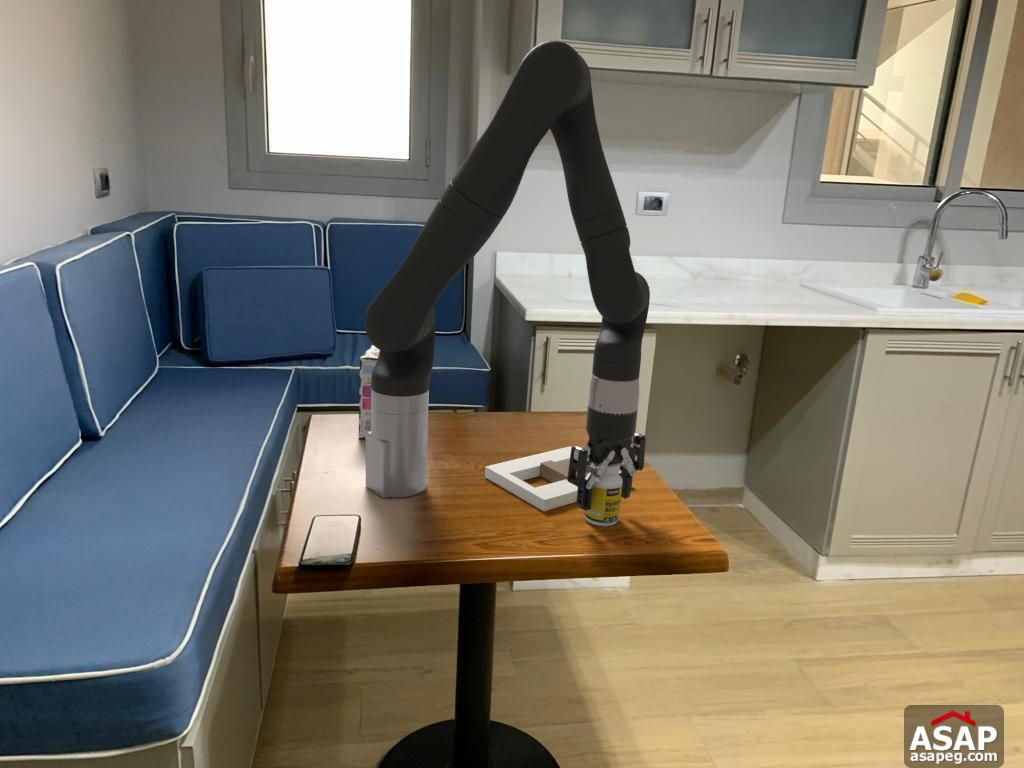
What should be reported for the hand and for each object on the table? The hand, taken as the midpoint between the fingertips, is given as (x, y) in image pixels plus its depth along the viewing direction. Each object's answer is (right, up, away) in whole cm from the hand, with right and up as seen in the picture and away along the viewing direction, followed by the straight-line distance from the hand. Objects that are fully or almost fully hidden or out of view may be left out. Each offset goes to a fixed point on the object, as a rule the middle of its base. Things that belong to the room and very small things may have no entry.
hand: (604, 502), depth 122 cm
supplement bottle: (0, -3, +1) cm, 3 cm away
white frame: (-6, +2, +14) cm, 16 cm away
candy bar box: (-42, +9, +34) cm, 54 cm away
